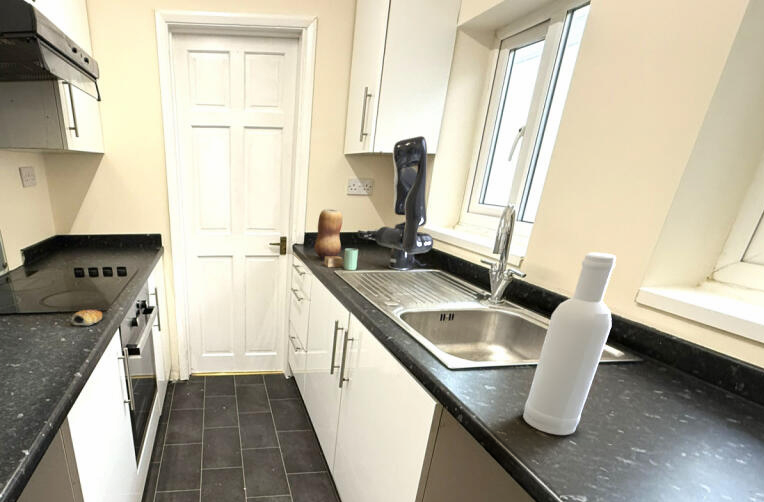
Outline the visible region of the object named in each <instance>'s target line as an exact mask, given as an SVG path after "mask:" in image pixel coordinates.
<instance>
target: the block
mask: <svg viewBox="0 0 764 502" xmlns="http://www.w3.org/2000/svg"><path fill="white" fill-rule="evenodd" d="M323 261H324V263H323V265H324V266H326V267H327V268H343V262H344V257H341V256H340V255H337V256H326V257H325V260H323Z"/></svg>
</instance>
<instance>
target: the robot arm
mask: <svg viewBox="0 0 764 502" xmlns="http://www.w3.org/2000/svg"><path fill="white" fill-rule="evenodd" d="M392 161H393V169H394V177H393V188H394V198H393V213H394V214H395V215H397V216H404V217H405V220H404V221H402V222H401V221H400V222H398V223H395V224H394V227H391V226H382V227H380V228H379V229H375V230H372V229H371V230H370V229H369V230H360V229H359V230H357V236H358V238H359V239H362V240H372V241H375V242H376V243H377V245H379V246H381V247H387V248H389V249H391V252H390V258H389V259H390V260H389V266H388V268H389V269H391V270H395V271H408V270H412V268H413V264H415V262H416V264H417V265H418V266H419V267H426V266H427V263H423V264H421V263H420V261H419V260H417V259H415V258H416V257H415V255H417V254H425V253H428V252H429V251H431V249H432V248H434V247H433V246H434V238H433V237H432V235H431V234H429V233H427V232H422V231H418V230H419V228H420V227H423V226H425V225H427V221H428V220H427V218H428V217H427V203H426V202H427V201H426V190H427V174H428V172H427V171H428V145H427V140H426V138H425V137H424V136H423V135H420V136H415V137H410V138H409V137H408V138H405V139H401V140H399V141H397V142H395V143H394V145H393V149H392ZM415 167H417V169H416V168H415Z"/></svg>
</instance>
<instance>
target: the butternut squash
mask: <svg viewBox="0 0 764 502" xmlns="http://www.w3.org/2000/svg"><path fill="white" fill-rule="evenodd" d="M342 226H343V214H342V212H341V211H340V210H338V209H331V208H326V209H322V210H321V212H320V213H319V216H318V222H317V237H316V239H315V243H314V251H315V254H316V255H317V256H318V257H319V258H320V259H321V260H322V261H325V257H326V256H339V254H340V252H341V248H342V245H341V239H340V233H341V230H342Z"/></svg>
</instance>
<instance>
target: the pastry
mask: <svg viewBox="0 0 764 502" xmlns="http://www.w3.org/2000/svg"><path fill="white" fill-rule="evenodd" d="M101 320H103V312H102V311H100V310H97V309H82V310H80V311H77V312H75V313H73V314H72V317H71V319H70V322H71V324H72V325H73V326H78V327H79V326H82V327H87V326H91V325H94V324H95V323H96V324H97V323H98V322H100V321H101Z"/></svg>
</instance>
